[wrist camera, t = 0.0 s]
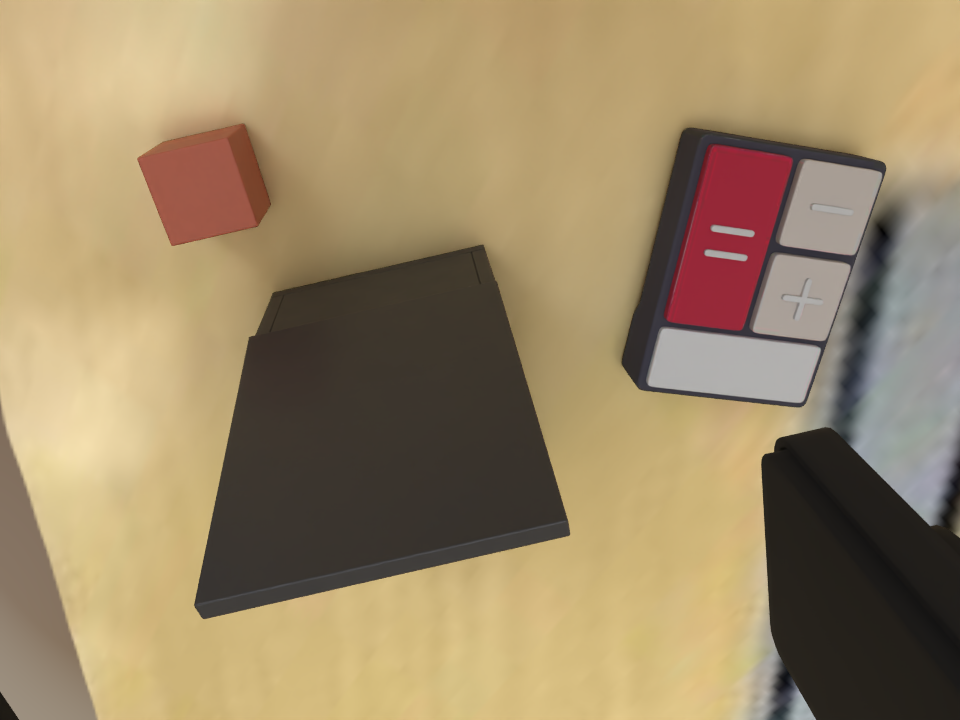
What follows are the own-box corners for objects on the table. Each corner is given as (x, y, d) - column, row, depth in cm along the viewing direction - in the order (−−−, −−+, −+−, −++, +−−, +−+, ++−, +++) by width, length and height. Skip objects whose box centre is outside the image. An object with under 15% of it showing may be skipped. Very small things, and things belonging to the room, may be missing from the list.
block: (161, 142, 41) (136, 158, 37) (244, 122, 41) (227, 137, 37) (192, 223, 43) (171, 246, 39) (271, 204, 43) (258, 226, 39)
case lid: (570, 536, 26) (568, 520, 26) (202, 620, 26) (192, 605, 26) (498, 293, 39) (496, 279, 39) (254, 349, 39) (248, 336, 39)
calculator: (898, 164, 42) (811, 414, 47) (854, 154, 46) (779, 385, 51) (706, 133, 40) (639, 396, 46) (678, 124, 44) (619, 367, 50)
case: (530, 463, 52) (547, 526, 46) (346, 505, 52) (339, 574, 46) (483, 244, 45) (496, 283, 39) (272, 292, 45) (253, 339, 39)
